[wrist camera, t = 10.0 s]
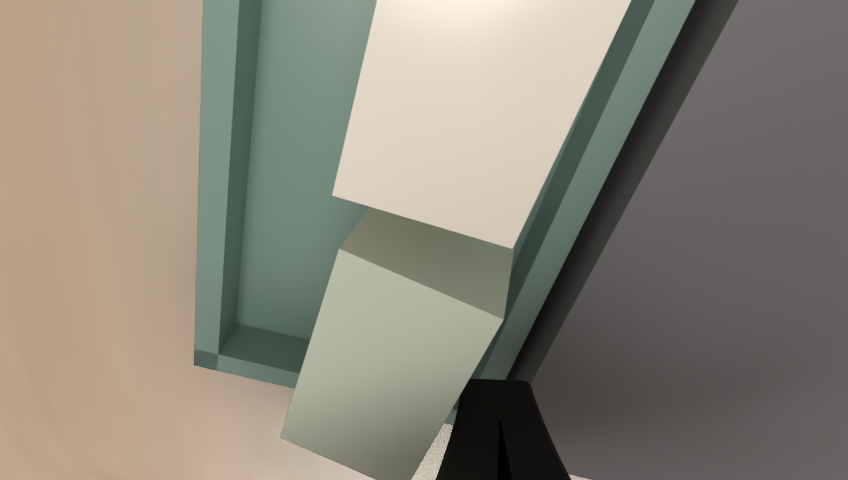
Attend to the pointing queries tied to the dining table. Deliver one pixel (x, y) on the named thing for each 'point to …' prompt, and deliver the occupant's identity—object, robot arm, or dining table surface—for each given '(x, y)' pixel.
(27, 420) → the dining table surface
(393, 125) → the cream tile
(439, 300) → the sage tile
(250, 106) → the tray
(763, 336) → the charcoal board
